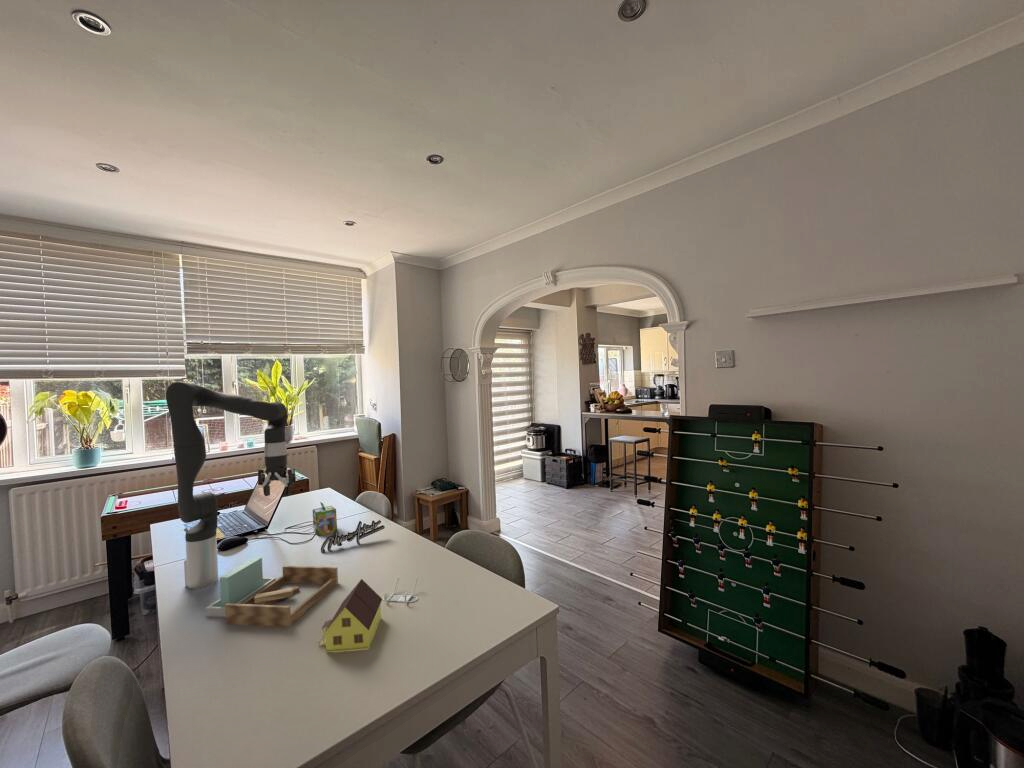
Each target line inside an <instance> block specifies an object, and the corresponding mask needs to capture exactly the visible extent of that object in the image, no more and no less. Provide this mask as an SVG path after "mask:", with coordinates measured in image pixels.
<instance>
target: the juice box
mask: <svg viewBox="0 0 1024 768" xmlns="http://www.w3.org/2000/svg"><path fill="white" fill-rule="evenodd" d="M320 505H321V507H317V508H314V509H313V508H312V522H313V523H312V525H313V533H314V532H315V533H316V534H315V533H314V534H315V535H316V536H317V537H320V536H325V535H329V534H333V533H334V532H335V531H336V530H337V531H338V523H337V522H338V521H337V520H338V519H337V518H338V517H337V508H335V507H334V506H332V505H327V506H325V505H324V503H323V502H320Z"/></svg>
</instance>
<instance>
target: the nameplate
mask: <svg viewBox="0 0 1024 768" xmlns="http://www.w3.org/2000/svg"><path fill="white" fill-rule="evenodd" d="M381 522H382V521H381V519H379V520H378V521H375V520H372V521H371V524H366V523H365V522H364V523H363V525H362V521H361V520H359V522H358V523H357V526H356V528H355V530H354V531H351V532H350V531H349V532H347V533H346V534H343V533H342V534H341V535H339V531H338V529H337V530H336V531H335V532H334V533H332V535H328V536H327V537H326V539H325V540H324V541H323V542H322V545H321V547H320V552H321V553H325V552H326V549H327V551H329V552H330V551H331V548H332V547H333V546H337V547H342V545H343V543H342V542H345V541H346V542H349V543H350V542H352V541H354V539H356V540H355V541H356V544H357V545H358V546H359V545H360V544H361V543H360V540H361V539H364V538H366V537H368V536H371V535H373V534H375V533H377V532H380V531H382V530H384V529H385V525H384V524H383V525H382V524H381ZM380 524H381V525H380ZM379 525H380V526H379ZM326 546H327V548H326Z"/></svg>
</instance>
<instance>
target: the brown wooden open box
mask: <svg viewBox="0 0 1024 768" xmlns="http://www.w3.org/2000/svg"><path fill="white" fill-rule="evenodd" d="M338 570H339V569H338V567H337V566H313V565H311V566H310V565H309V566H306V565H305V566H304V565H284V566H282V575H281V576H279V577H278V578H276V580H275V581H273V582H272V583H271V584H269V585H268V586H266V587H265V588H263V589H262V590H261V591H259V592H258V593H256V594H261V593H267V592H272V591H277V590H278V589H279V588H280V587H281V586H283V585H285V584H286V583H285V582H287V583H290V584H316V585H318V584H319V585H322V586H321V587H319V588H318V589H317V590H316V591H314V593H313V594H311V595H310V596H309V597H308V598H306V599H305V600H304V601H303V602H302V603H301V604H300V605H298V606H297V607H296V608H295V609H294V610H292V611H291V605H280V604H279V605H275V604H272V605H256V604H257V603H255V604H254V597H255V595H256V594H255V595H253V596H252V597H250V598H249V599H248V600H246V601H245V602H243V603H242V604H232V603H227V604H226V605H225V616H226V617H225V625H240V626H241V625H242V626H243V625H244V626H260V627H262V626H263V627H280V628H290V627H291V625H293V624H294V623H295V622H296V621H297V620H299V618H301V617H302V616H303V615H304V614H305V613H306V612H308V611H309V610H310V609H311V608H312V607H313V606H314V605H315V604H316V603H318V602H319V601H320V600H321V599H322V598H323V597H324V596H326V594H328V593H329V592H330V591H332V589H333V588H335V586H337V584H338V583H339V575H338V574H339V573H338ZM318 600H319V601H318ZM311 606H312V607H311ZM310 607H311V608H310ZM309 608H310V609H309ZM308 609H309V610H308ZM303 613H304V614H303ZM289 626H290V627H289Z"/></svg>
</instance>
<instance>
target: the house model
mask: <svg viewBox="0 0 1024 768" xmlns="http://www.w3.org/2000/svg"><path fill="white" fill-rule="evenodd" d="M382 599H383V597H381V596H380V595H379V594H378V593H377V592H376V591H375V590H374V589H373V588H371V586H370V585H368V583H367V582H366V581H364V579H362V578H361V579H360V580H359V581H358V583H357V584H356V585H355V586H354V587H353V589H352V590H351V591H350V593H349V594H348V595H347V596H346V597H345V599H344V600H343V601H342V603H341V604H340V606H339V608H338V609H337V611H336V612H335V614H334V615H333V617H332V619H329V620H327V621H325V622H324V623H323V624H322V627H321V628H320V631H322V635H321V639H320V640H318V647H320V646H322V647H325V653H326V654H328V653H327V652H333V653H344V651H345V652H354V651H356V652H357V651H366V650H367V651H368V650H369V649H370V647H371V645H372V641H373V640H374V637H375V634H376V632H377V629H378V627H379V625H380V622H381V620H382V611H381V608H382V607H381V605H382V604H381V603H382V602H383V600H382ZM324 645H326V646H324Z"/></svg>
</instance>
